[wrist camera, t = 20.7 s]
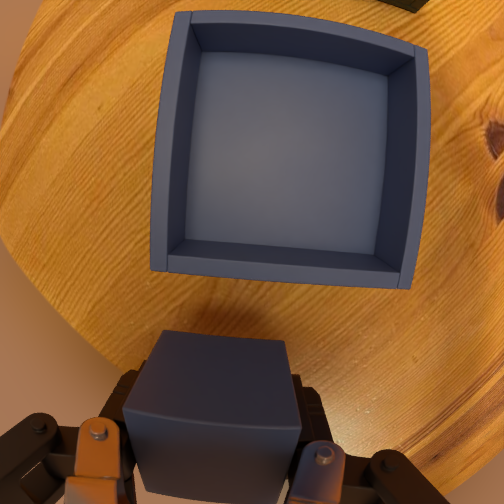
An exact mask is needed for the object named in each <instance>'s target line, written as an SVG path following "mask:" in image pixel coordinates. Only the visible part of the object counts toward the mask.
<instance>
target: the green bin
mask: <svg viewBox="0 0 504 504" xmlns="http://www.w3.org/2000/svg"><path fill="white" fill-rule="evenodd" d="M379 1H383V2H386V3H389V4H392V5H395V6H398V7H400V8H403V9H406V10H409V11H411V12H414V13H416V12H417V11H418V10H419V9H420V8H421V7H423V6H424V5H425V4H426V3H427V2H428V1H429V0H379Z"/></svg>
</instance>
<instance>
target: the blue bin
mask: <svg viewBox="0 0 504 504" xmlns="http://www.w3.org/2000/svg"><path fill="white" fill-rule="evenodd" d="M430 135H431V101H430V78H429V64H428V53H427V49H425V48H422V47H419V46H417V45H413V44H411V43H409V42H406V41H403V40H400V39H397V38H394V37H391V36H388V35H384V34H381V33H378V32H374V31H371V30H367V29H363V28H359V27H355V26H351V25H347V24H343V23H338V22H333V21H328V20H323V19H317V18H311V17H305V16H298V15H290V14H282V13H272V12H259V11H240V10H202V11H193V12H192V11H181V12H176V13H175V16H174V21H173V26H172V30H171V35H170V40H169V45H168V51H167V56H166V62H165V68H164V74H163V81H162V87H161V95H160V102H159V110H158V118H157V127H156V137H155V148H154V160H153V174H152V192H151V218H150V270H151V271H159V272H167V271H168V272H169V273H179V274H189V275H200V276H211V277H222V278H234V279H246V280H259V281H272V282H286V283H300V284H315V285H331V286H348V287H366V288H386V289H396V288H397V289H410V288H411V284H412V280H413V275H414V270H415V266H416V261H417V255H418V250H419V244H420V239H421V232H422V226H423V219H424V212H425V204H426V195H427V185H428V173H429V159H430Z"/></svg>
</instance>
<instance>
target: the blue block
mask: <svg viewBox="0 0 504 504" xmlns="http://www.w3.org/2000/svg"><path fill="white" fill-rule="evenodd" d="M122 411H123V415H124V419H125V423H126V427H127V431H128V435H129V438H130V442H131V446H132V449H133V453H134V456H135V459H136V462H137V466H138V469H139V472H140V474H141V478H142V481H143V484H144V486H145V489H146V491H148V492H152V493H157V494H162V495H167V496H172V497H178V498H184V499H191V500H198V501H206V502H216V503H229V504H276V503H277V501H278V498H279V496H280V493H281V490H282V488H283V485H284V482H285V479H286V476H287V473H288V470H289V467H290V464H291V461H292V458H293V455H294V452H295V449H296V446H297V443H298V439H299V436H300V433H301V429H302V424H301V419H300V414H299V409H298V404H297V399H296V394H295V390H294V385H293V380H292V375H291V370H290V365H289V360H288V356H287V351H286V346H285V342H284V341H282V340H265V339H250V338H237V337H226V336H215V335H205V334H196V333H187V332H179V331H171V330H163V331H162V333H161V335H160V337H159V339H158V340H157V342H156V344H155V346H154V348H153V350H152V352H151V353H150V355H149V357H148V359H147V361H146V363H145V365H144V367H143V369H142V370H141V372H140V374H139V376H138V378H137V380H136V382H135V384H134V386H133V388H132V390H131V392H130V393H129V395H128V397H127V399H126V401H125V403H124V405H123V407H122Z"/></svg>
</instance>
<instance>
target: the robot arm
mask: <svg viewBox="0 0 504 504" xmlns="http://www.w3.org/2000/svg"><path fill="white" fill-rule="evenodd" d="M146 361H147V360H144V361H143V363H142V365H141V366H140V368H139V370H138V371H136V370H130V371H128V372H127V373H125V374H124V375H122V376H121V378H120V380H119V382H118V383H117V386H116V387H115V388H114V390H113V393H112V394H111V395H110V397H109V398H108V400H107V402H106V404H105V406H104V407H103V409H102V411H101V412H100V414H99V416H98V417H94V418H90V419H88V420H86V421H84V422H83V423H82V425H81V426H80V427H66V426H58V424H57V422H56V420H55V419H54V418H53V417H52V416H51V415H49V414H46V413H34V414H31V415H29V416H28V417H26V418H25V419H24V420H22V421H21V422H19V423H18V424H17V425H15V426H14V427H13V428H11V429H10V430H9V431H7V432H6V433H5V434H3V435H2V436H1V437H0V504H55V503H56V502H57V501H58V500H59V499H60V498H61V497H62V496H63V495H64V504H137V501H136V492H135V482H134V474H133V470H134V467H135V464H136V463H137V462H136V459H135V456H134V453H133V449H132V446H131V442H130V438H129V435H128V431H127V427H126V423H125V419H124V415H123V411H122V407H123V405H124V403H125V401H126V399H127V397H128V395H129V393H130V392H131V390H132V388H133V386H134V384H135V382H136V380H137V378H138V376H139V374H140V372H141V370H142V369H143V367H144V365H145V363H146ZM291 375H292V380H293V385H294V390H295V394H296V399H297V404H298V409H299V414H300V419H301V424H302V429H301V433H300V436H299V439H298V443H297V446H296V449H295V452H294V455H293V458H292V461H291V464H290V467H289V470H288V473H287V476H286V479H288V482H289V490H288V492H287V495H286V498H285V501H284V504H450V503H449V502H448V501H447V500H446V499H445V498H444V497H443V496H442V495H441V494H440V493H439V491H438V490H437V489H436V488H435V487H434V486H433V485H432V484H431V483H430V482H429V481H428V480H427V479H426V478H425V477H424V476H423V475H422V473H421V472H420V471H419V470H418V469H417V468H416V467H415V466H414V465H413V464H412V463H411V462H410V461H409V460H408V458H407V457H406V456H405V455H404V454H402V453H401V452H399V451H396V450H391V449H385V450H381V451H378V452H376V453H375V454H374V455H373V456H372V457H371V458H365V457H357V456H351V455H348V454H346V453H345V452H344V450H343V449H342V448H341V447H340V446H339V445H337V444H335V443H334V441H333V438H332V435H331V431H330V428H329V425H328V421H327V418H326V415H325V411H324V408H323V406H322V402H321V398H320V395H319V394H318V393H317V392H316V391H315V390H314V389H313V388H312V387H303V386H302V382H301V378H300V375H299V374H291ZM39 462H40V463H39ZM38 463H39V464H38ZM37 464H38V465H37ZM36 465H37V466H36ZM35 466H36V467H35ZM33 467H35V468H33ZM32 468H33V469H32ZM31 469H32V470H31ZM30 470H31V471H30ZM29 471H30V472H29ZM27 472H29V473H28V474H27V475H25V474H26V473H27ZM24 475H25V476H24ZM23 476H24V477H23ZM22 477H23V478H22Z"/></svg>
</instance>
